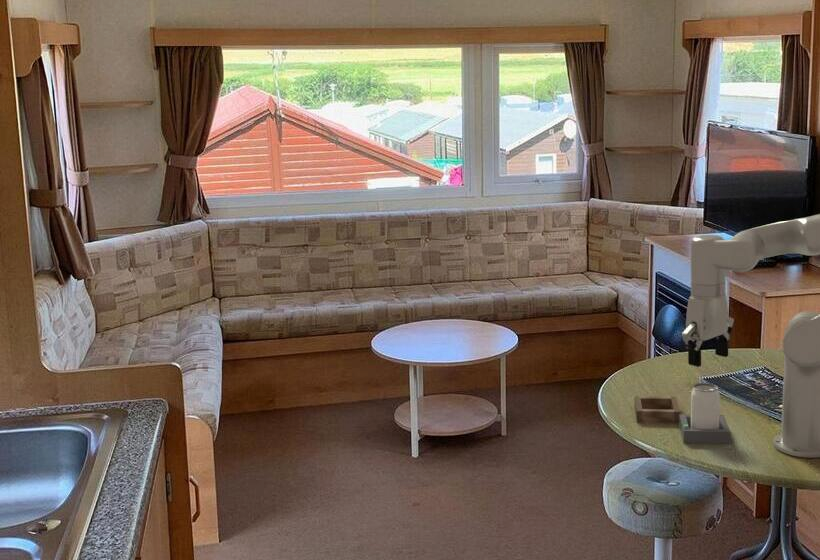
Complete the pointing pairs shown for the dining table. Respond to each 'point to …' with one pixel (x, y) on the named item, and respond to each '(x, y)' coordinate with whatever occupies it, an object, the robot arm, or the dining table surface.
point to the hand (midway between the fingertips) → (708, 360)
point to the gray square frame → (704, 432)
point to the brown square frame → (656, 409)
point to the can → (705, 406)
